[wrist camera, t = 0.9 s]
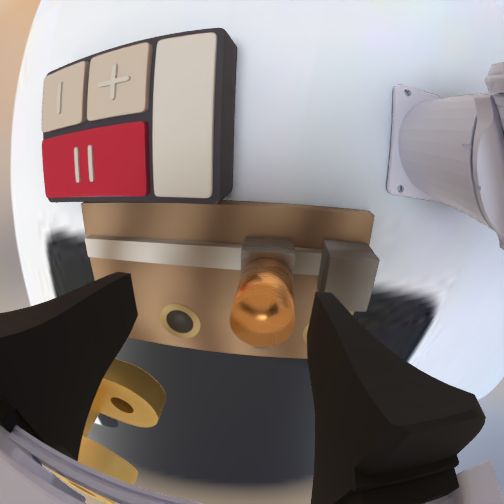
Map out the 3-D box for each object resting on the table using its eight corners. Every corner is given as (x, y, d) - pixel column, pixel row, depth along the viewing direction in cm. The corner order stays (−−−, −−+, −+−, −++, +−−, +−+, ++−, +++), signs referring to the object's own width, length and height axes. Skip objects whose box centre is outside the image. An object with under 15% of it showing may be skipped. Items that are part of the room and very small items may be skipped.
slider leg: (292, 235, 18) (299, 292, 12) (281, 337, 22) (280, 409, 15) (247, 232, 18) (229, 287, 12) (244, 334, 22) (231, 405, 15)
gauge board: (369, 211, 19) (392, 232, 14) (338, 350, 24) (346, 388, 19) (89, 199, 20) (53, 216, 16) (114, 326, 25) (93, 355, 21)
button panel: (38, 73, 13) (223, 21, 11) (72, 76, 17) (238, 43, 15) (41, 205, 17) (217, 209, 15) (73, 192, 21) (233, 193, 19)
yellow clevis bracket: (162, 372, 27) (110, 497, 13) (169, 414, 31) (134, 515, 17) (34, 326, 28) (-31, 401, 14) (53, 371, 32) (5, 442, 17)
